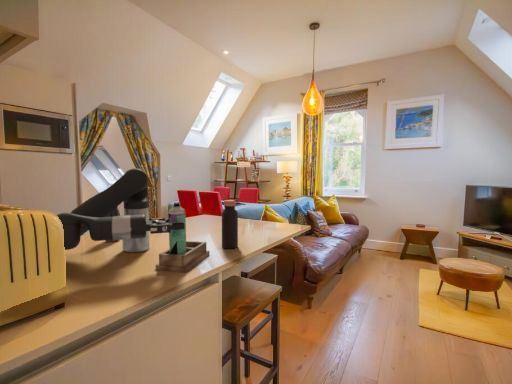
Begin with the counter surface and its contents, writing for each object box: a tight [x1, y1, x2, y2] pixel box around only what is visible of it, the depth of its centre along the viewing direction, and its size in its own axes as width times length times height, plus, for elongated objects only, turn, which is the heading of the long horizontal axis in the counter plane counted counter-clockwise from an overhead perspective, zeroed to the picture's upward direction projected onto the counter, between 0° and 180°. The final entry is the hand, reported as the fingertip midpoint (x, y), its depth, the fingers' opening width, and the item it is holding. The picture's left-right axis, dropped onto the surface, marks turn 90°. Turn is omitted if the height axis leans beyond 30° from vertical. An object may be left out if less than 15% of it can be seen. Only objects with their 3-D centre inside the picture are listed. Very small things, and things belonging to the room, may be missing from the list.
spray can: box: [168, 201, 187, 255], centre depth 89 cm, size 6×6×20 cm
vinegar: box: [221, 199, 239, 250], centre depth 112 cm, size 7×7×20 cm
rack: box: [155, 240, 210, 273], centre depth 94 cm, size 11×19×5 cm, turn 168°
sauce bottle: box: [104, 205, 121, 243], centre depth 122 cm, size 7×6×20 cm
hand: (182, 223), depth 89 cm, fingers open, 8 cm apart
